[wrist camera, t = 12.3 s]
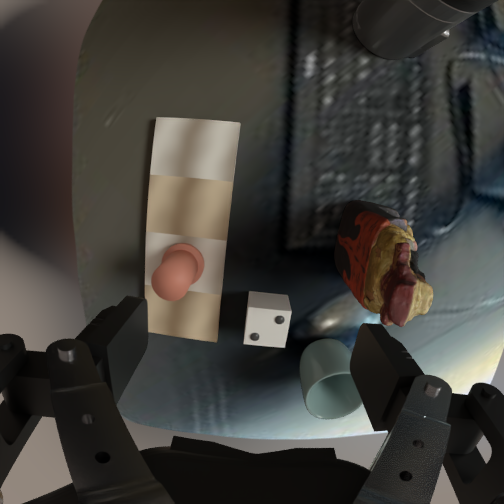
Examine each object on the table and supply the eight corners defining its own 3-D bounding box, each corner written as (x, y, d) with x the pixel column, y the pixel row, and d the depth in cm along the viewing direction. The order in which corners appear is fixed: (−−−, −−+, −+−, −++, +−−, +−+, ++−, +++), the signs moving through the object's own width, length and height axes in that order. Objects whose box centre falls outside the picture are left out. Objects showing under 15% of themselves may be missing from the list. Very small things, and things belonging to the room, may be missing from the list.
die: (287, 294, 41) (291, 311, 36) (281, 328, 42) (284, 348, 37) (249, 290, 41) (248, 307, 36) (244, 324, 42) (243, 344, 37)
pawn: (206, 245, 38) (195, 262, 31) (202, 285, 40) (192, 309, 33) (164, 240, 38) (146, 256, 31) (162, 280, 39) (145, 302, 33)
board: (240, 124, 36) (239, 122, 34) (217, 337, 43) (216, 342, 42) (159, 118, 35) (156, 117, 34) (148, 327, 43) (145, 331, 41)
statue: (377, 280, 41) (451, 363, 21) (323, 269, 40) (373, 358, 21) (402, 193, 37) (504, 223, 18) (346, 177, 37) (428, 193, 18)
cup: (299, 379, 45) (307, 425, 35) (291, 336, 43) (300, 380, 33) (349, 368, 44) (368, 411, 34) (346, 324, 42) (367, 364, 32)
